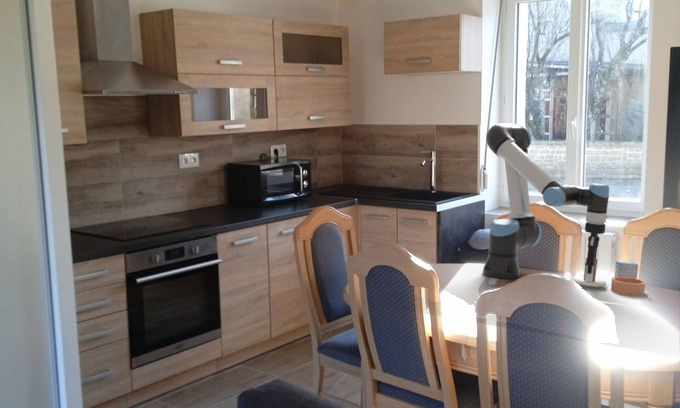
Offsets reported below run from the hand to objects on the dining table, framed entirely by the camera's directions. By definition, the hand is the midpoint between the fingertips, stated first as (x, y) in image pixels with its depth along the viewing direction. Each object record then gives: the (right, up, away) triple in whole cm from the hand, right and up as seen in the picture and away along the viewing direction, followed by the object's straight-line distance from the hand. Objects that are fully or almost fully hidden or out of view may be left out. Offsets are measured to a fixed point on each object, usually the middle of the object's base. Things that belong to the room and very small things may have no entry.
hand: (589, 279), depth 279 cm
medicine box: (+19, -3, +12) cm, 23 cm away
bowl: (+13, -5, -6) cm, 15 cm away
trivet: (0, -3, 0) cm, 3 cm away
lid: (0, -1, 0) cm, 1 cm away
